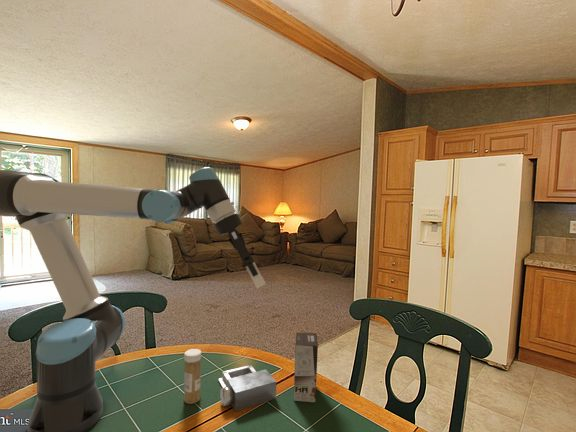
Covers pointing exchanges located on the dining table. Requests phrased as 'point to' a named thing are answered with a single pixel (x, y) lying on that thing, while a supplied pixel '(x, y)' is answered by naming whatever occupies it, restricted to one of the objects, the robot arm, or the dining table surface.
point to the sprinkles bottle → (192, 376)
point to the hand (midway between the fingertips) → (259, 283)
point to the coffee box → (305, 367)
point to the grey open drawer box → (246, 387)
